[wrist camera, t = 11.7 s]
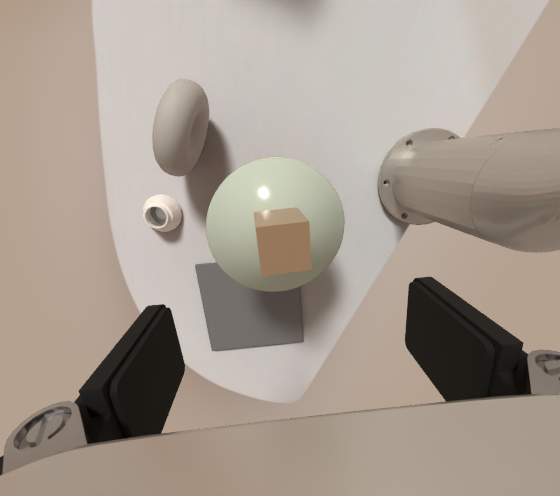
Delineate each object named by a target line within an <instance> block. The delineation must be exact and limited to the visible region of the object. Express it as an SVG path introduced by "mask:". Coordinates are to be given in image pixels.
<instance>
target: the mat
mask: <svg viewBox="0 0 560 496" xmlns="http://www.w3.org/2000/svg"><path fill="white" fill-rule="evenodd" d="M195 268H196V273H197V278H198V283H199V288H200V293H201V298H202V303H203V308H204V313H205V318H206V323H207V328H208V333H209V338H210V343H211V348H212V351H215V350H225V349H235V348H245V347H255V346H264V345H274V344H284V343H294V342H303V329H302V313H301V298H300V287H297V288H294V289H291V290H286V291H277V292H269V291H261V290H256V289H252V288H249V287H247V286H244V285H242V284H240V283H239V282H237V281H235V280H234V279H232V278H231V277H230V276H228V275H227V274H226V273H225V272H224V271H223V270H222V268H221V267H220V266H219V265H218V263H207V264H197V265H196V266H195Z"/></svg>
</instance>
